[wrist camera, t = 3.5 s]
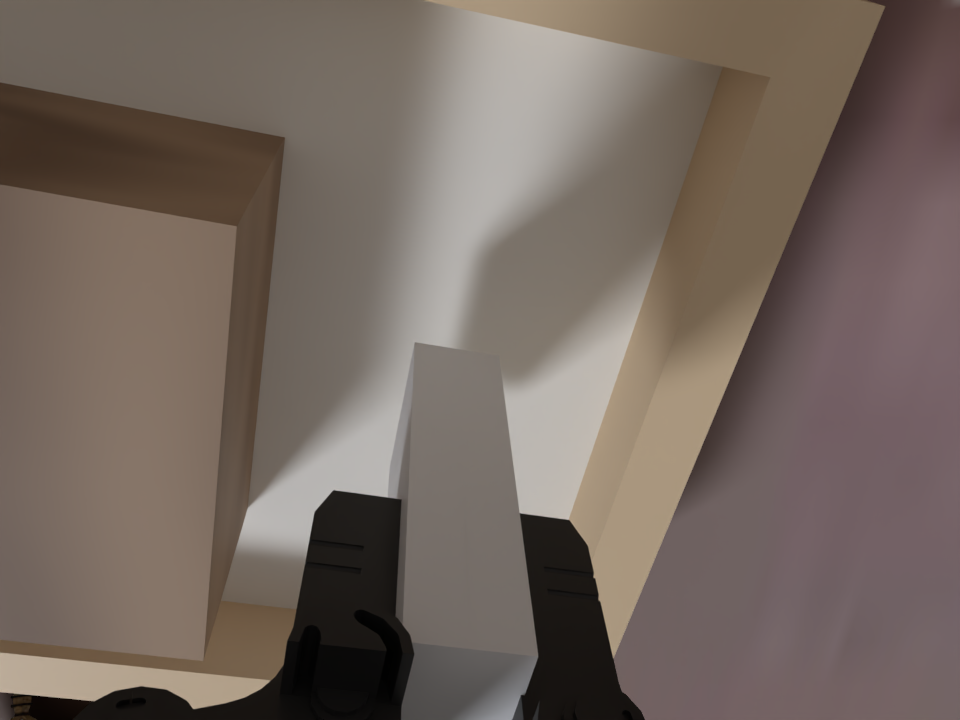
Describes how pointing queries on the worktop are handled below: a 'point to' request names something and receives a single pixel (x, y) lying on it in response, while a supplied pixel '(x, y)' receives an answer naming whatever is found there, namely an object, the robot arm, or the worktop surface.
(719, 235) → the deck
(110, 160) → the walnut block
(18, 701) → the game die
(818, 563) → the worktop surface
